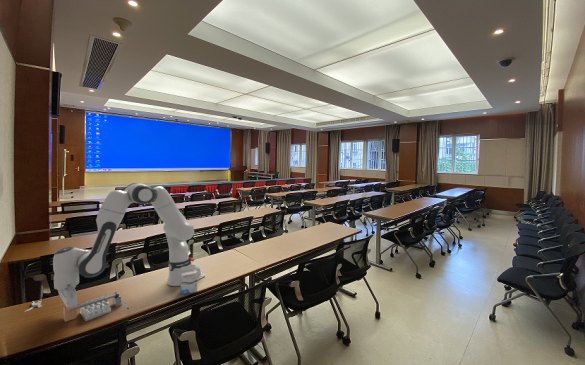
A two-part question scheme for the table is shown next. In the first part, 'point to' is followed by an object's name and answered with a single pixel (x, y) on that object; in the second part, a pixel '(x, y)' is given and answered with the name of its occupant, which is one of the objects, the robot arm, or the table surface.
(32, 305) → the pliers
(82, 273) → the robot arm
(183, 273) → the ink box
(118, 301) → the heatsink
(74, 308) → the strap
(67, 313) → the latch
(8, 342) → the table surface
